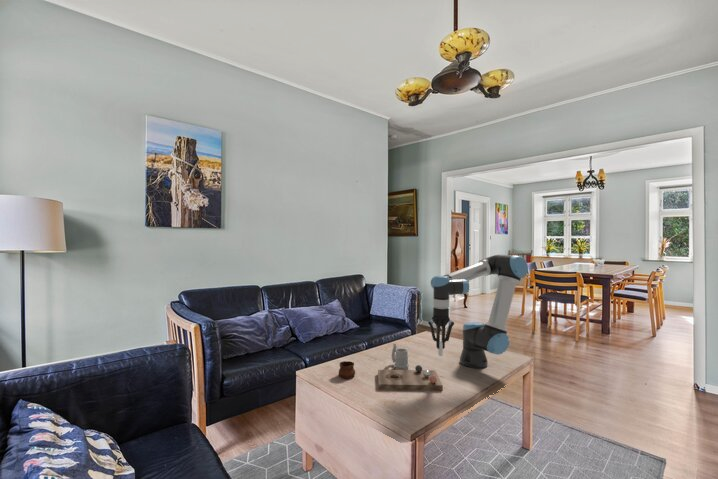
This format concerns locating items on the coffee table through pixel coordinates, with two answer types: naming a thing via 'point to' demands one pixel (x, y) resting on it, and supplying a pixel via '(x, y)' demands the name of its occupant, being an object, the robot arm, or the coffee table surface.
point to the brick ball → (433, 379)
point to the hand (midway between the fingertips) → (440, 354)
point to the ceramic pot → (346, 370)
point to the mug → (400, 358)
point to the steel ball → (426, 373)
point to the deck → (407, 380)
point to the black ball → (418, 368)
